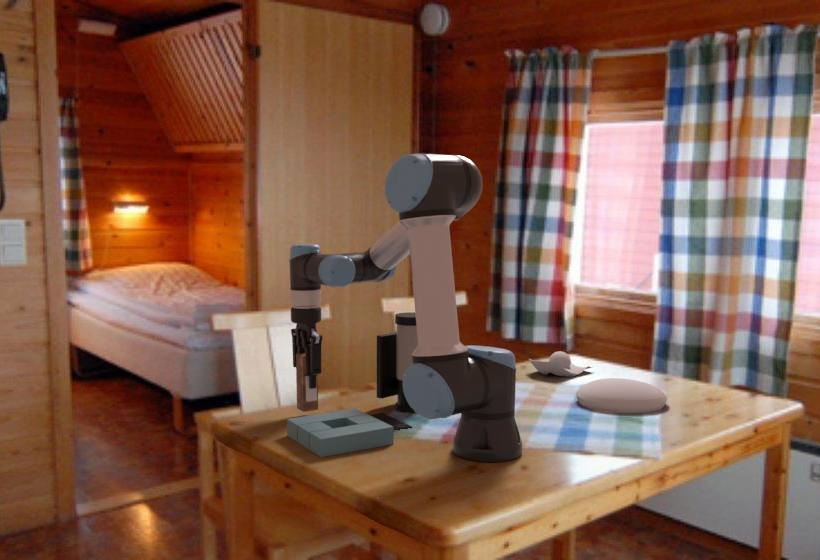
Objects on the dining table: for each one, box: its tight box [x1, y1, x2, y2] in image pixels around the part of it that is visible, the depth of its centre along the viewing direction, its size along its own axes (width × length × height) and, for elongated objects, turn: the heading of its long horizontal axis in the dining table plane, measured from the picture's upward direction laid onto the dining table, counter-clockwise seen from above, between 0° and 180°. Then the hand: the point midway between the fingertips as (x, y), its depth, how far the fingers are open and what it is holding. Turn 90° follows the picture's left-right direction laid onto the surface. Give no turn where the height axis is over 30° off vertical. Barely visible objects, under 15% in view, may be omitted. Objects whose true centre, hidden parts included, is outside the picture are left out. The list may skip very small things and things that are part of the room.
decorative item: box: [575, 377, 668, 414], centre depth 225 cm, size 24×7×20 cm
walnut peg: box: [295, 353, 319, 413], centre depth 211 cm, size 4×4×14 cm
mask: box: [528, 350, 593, 377], centre depth 261 cm, size 20×8×15 cm
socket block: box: [286, 408, 395, 458], centre depth 192 cm, size 18×18×4 cm
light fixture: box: [376, 311, 418, 414], centre depth 219 cm, size 12×11×25 cm
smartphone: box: [369, 412, 413, 431], centre depth 206 cm, size 7×1×15 cm
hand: (307, 398), depth 211 cm, fingers closed on walnut peg, 4 cm apart
